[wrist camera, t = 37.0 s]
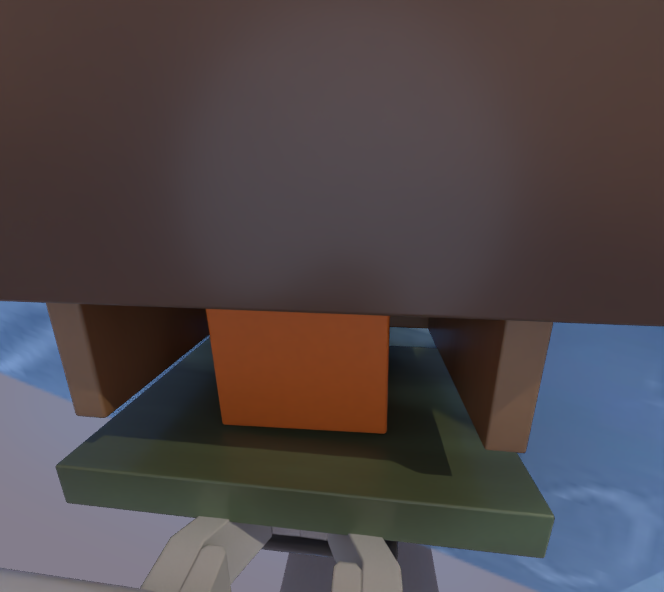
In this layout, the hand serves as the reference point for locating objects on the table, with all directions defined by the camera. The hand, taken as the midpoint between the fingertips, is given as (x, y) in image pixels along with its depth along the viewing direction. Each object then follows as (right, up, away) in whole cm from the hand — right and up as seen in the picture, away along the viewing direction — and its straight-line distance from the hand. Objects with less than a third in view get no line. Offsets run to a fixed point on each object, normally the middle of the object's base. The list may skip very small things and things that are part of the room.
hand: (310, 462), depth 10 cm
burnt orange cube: (0, +5, +2) cm, 6 cm away
